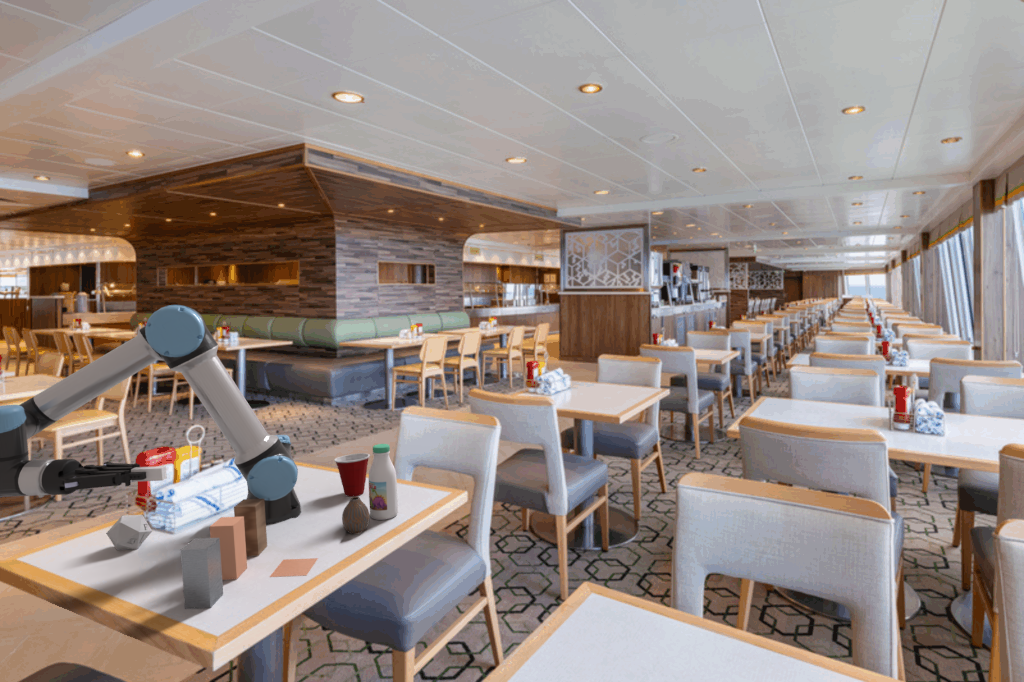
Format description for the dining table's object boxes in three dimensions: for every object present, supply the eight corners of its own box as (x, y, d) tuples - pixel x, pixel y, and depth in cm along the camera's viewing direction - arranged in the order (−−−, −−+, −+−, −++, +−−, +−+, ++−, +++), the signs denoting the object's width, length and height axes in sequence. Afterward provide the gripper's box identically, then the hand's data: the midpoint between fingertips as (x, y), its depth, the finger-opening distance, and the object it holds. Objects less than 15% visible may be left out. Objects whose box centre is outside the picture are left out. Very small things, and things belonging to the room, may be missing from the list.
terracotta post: (213, 580, 119) (209, 526, 118) (224, 568, 124) (221, 517, 123) (236, 579, 119) (233, 525, 118) (247, 568, 124) (243, 516, 123)
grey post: (184, 608, 108) (180, 549, 107) (198, 595, 113) (194, 538, 112) (210, 607, 108) (206, 548, 108) (223, 594, 113) (219, 537, 113)
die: (118, 560, 133) (145, 524, 135) (91, 541, 134) (118, 506, 137) (140, 557, 141) (165, 523, 143) (114, 539, 142) (139, 505, 144)
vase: (355, 538, 140) (353, 504, 140) (337, 532, 144) (335, 500, 143) (375, 528, 146) (374, 496, 146) (357, 523, 150) (355, 492, 149)
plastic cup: (361, 485, 181) (359, 449, 180) (378, 492, 173) (376, 455, 172) (330, 493, 174) (328, 456, 173) (345, 502, 166) (343, 463, 165)
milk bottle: (388, 507, 161) (385, 440, 159) (403, 514, 155) (400, 445, 154) (364, 515, 155) (361, 446, 154) (379, 523, 150) (376, 450, 148)
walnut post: (237, 556, 130) (233, 507, 129) (246, 547, 135) (243, 499, 134) (258, 555, 130) (255, 506, 129) (267, 546, 135) (264, 498, 134)
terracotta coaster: (283, 562, 128) (283, 559, 128) (318, 561, 128) (318, 558, 128) (269, 580, 120) (269, 576, 120) (306, 578, 120) (306, 575, 120)
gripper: (77, 483, 126) (182, 480, 127) (29, 505, 113) (146, 501, 114) (74, 451, 126) (180, 448, 126) (26, 469, 113) (143, 465, 113)
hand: (164, 473), depth 120 cm, fingers closed
